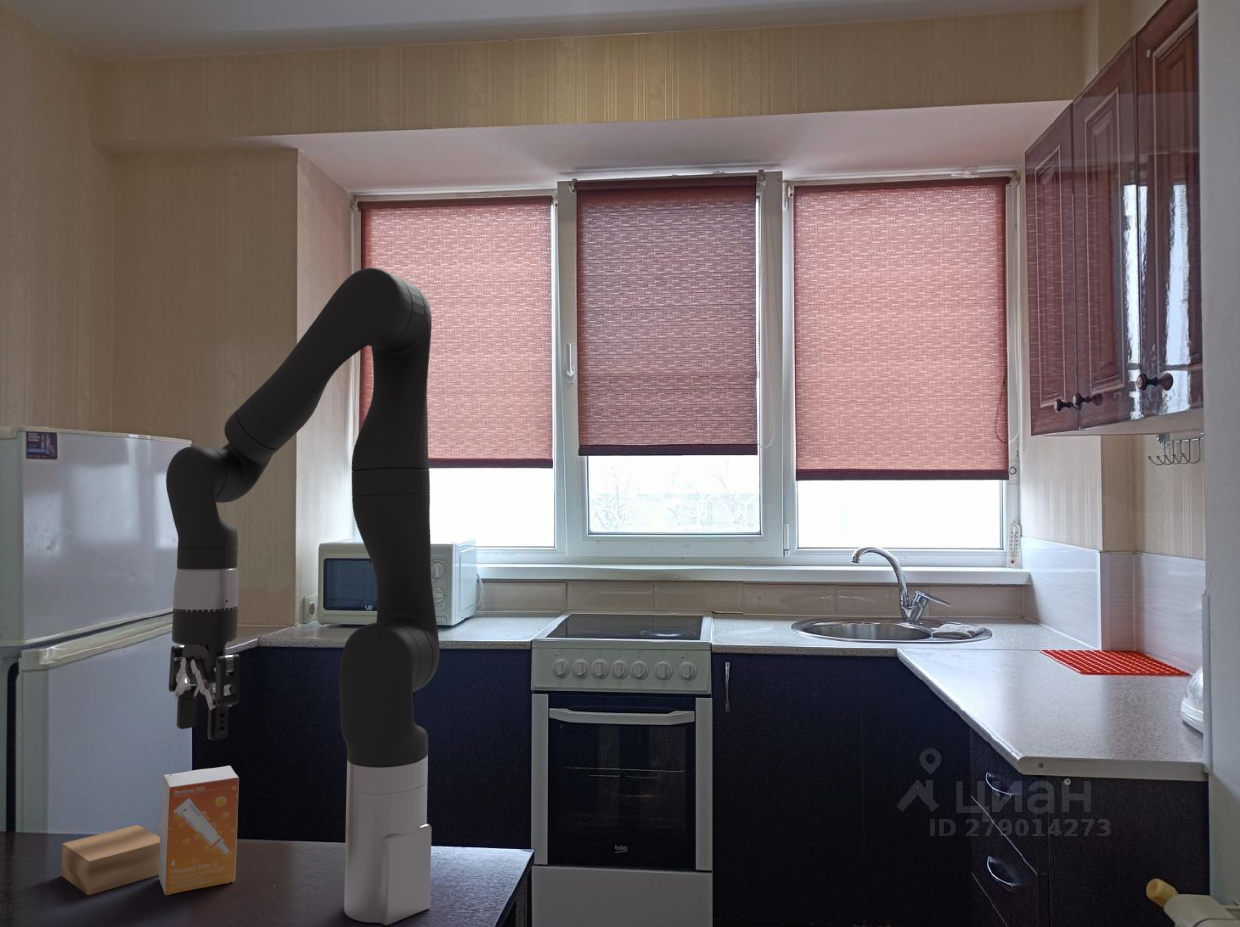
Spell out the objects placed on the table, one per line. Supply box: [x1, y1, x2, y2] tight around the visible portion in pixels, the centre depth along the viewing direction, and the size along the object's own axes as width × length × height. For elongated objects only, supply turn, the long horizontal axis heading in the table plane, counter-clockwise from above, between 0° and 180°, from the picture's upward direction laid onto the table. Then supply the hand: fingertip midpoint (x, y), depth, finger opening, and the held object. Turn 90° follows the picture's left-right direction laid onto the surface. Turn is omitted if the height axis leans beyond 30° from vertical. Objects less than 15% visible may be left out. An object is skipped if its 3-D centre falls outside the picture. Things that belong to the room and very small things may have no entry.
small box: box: [158, 765, 240, 896], centre depth 112 cm, size 8×6×13 cm
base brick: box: [60, 824, 160, 896], centre depth 114 cm, size 9×9×4 cm
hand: (201, 733), depth 113 cm, fingers open, 8 cm apart
